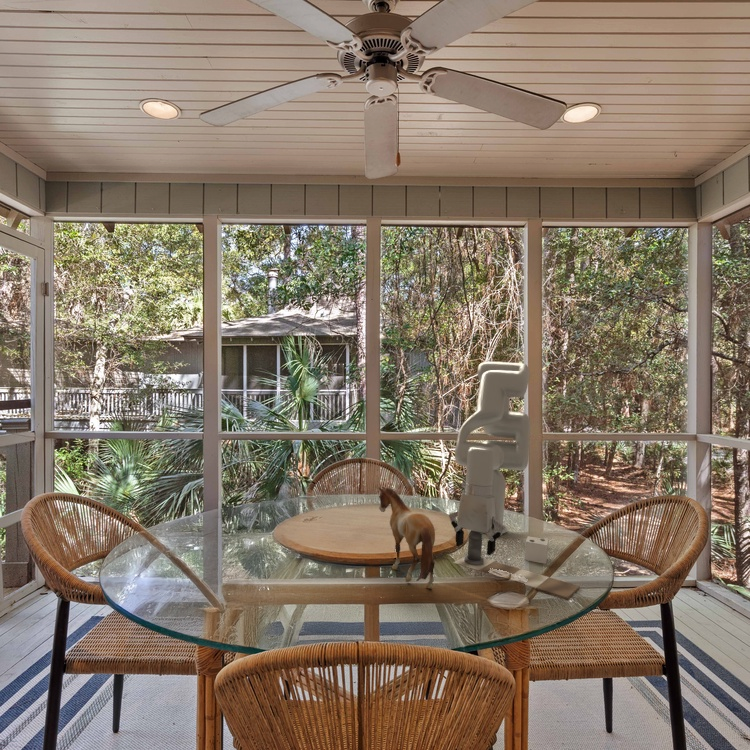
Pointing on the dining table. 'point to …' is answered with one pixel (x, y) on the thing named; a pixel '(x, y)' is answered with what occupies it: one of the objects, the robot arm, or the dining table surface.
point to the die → (536, 549)
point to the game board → (529, 578)
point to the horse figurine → (410, 533)
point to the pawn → (474, 549)
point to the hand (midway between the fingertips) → (474, 549)
